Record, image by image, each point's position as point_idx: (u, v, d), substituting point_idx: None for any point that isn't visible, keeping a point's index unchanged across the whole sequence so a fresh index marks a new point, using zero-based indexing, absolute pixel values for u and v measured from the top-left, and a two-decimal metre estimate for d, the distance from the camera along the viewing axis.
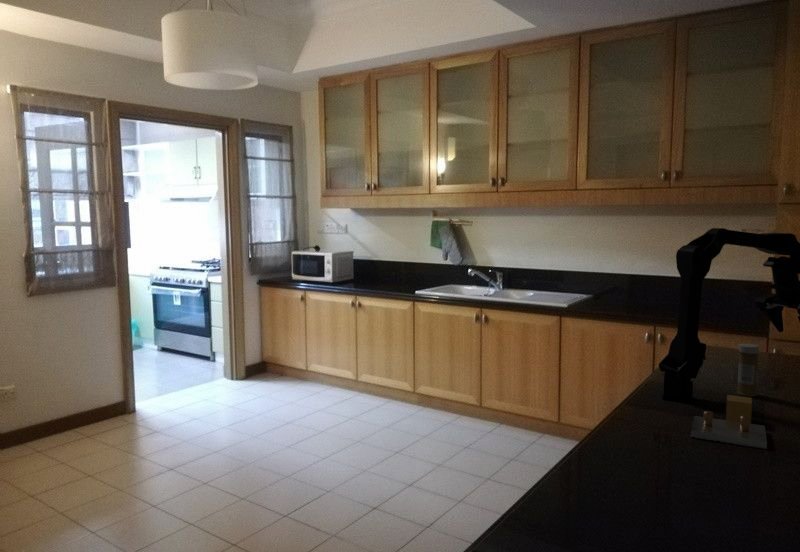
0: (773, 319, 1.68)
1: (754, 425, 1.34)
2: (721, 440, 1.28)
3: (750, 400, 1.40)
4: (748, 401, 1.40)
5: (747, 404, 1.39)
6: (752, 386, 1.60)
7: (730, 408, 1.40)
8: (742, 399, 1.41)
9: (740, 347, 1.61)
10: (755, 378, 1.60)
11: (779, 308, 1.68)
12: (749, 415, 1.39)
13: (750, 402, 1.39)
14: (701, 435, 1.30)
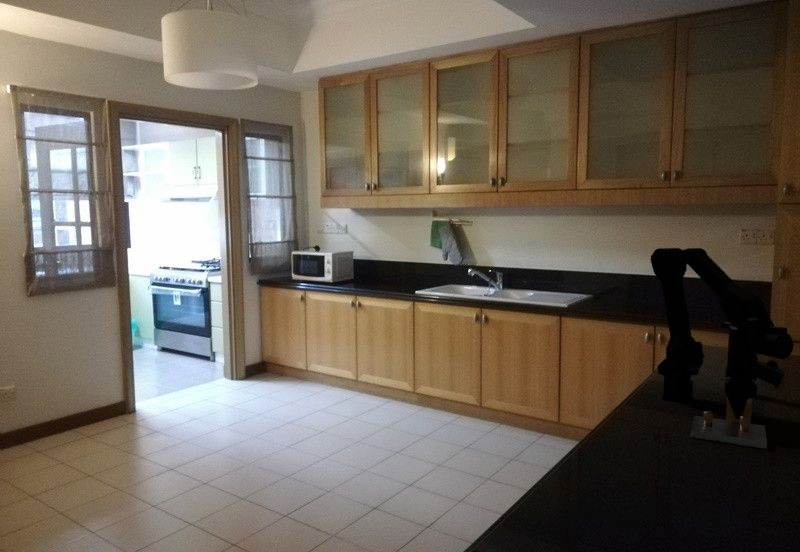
0: None
1: (754, 425, 1.34)
2: (721, 440, 1.28)
3: (750, 400, 1.40)
4: (748, 401, 1.40)
5: (747, 404, 1.39)
6: None
7: (730, 408, 1.40)
8: None
9: None
10: None
11: None
12: (749, 415, 1.39)
13: (750, 402, 1.39)
14: (701, 435, 1.30)
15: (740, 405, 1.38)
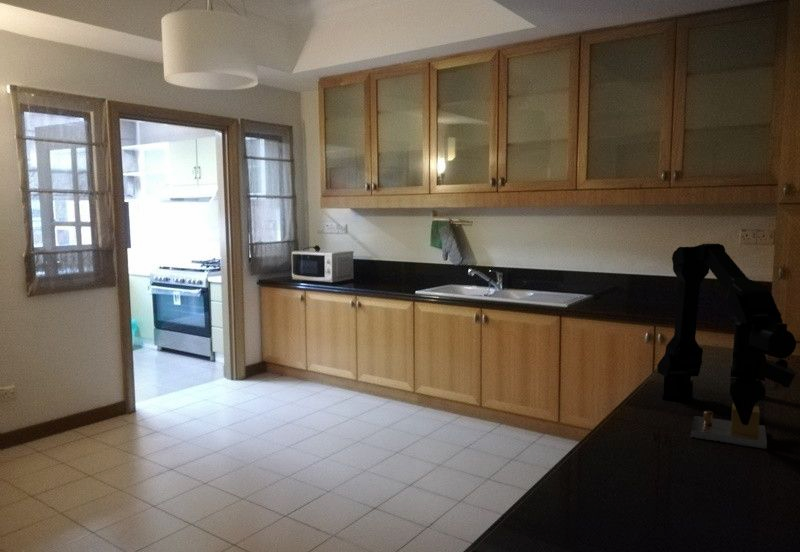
0: None
1: None
2: (721, 440, 1.28)
3: (757, 409, 1.29)
4: (755, 410, 1.29)
5: (754, 413, 1.27)
6: None
7: (736, 418, 1.29)
8: None
9: None
10: None
11: None
12: (756, 425, 1.27)
13: (757, 411, 1.28)
14: (701, 435, 1.30)
15: (747, 409, 1.26)
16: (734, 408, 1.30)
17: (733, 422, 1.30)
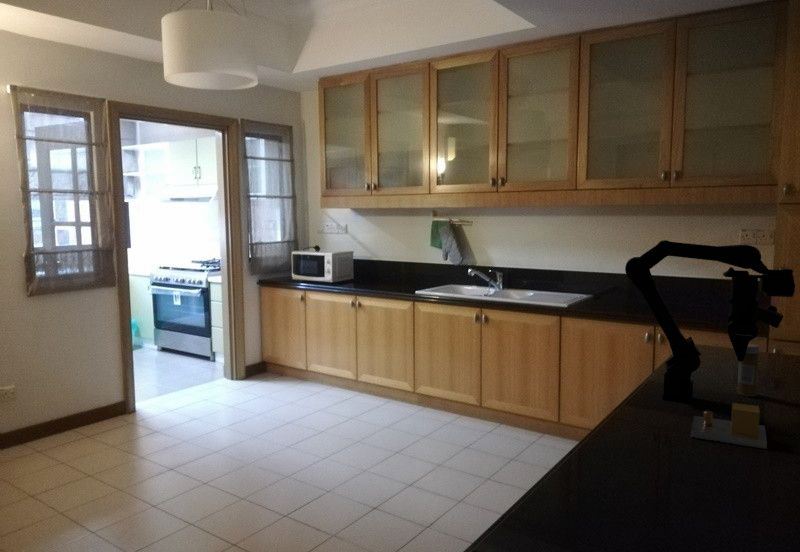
0: None
1: None
2: (721, 440, 1.28)
3: (757, 409, 1.29)
4: (755, 410, 1.29)
5: (754, 413, 1.27)
6: (752, 386, 1.60)
7: (736, 418, 1.29)
8: (748, 408, 1.30)
9: None
10: (755, 378, 1.60)
11: None
12: (756, 425, 1.27)
13: (757, 411, 1.28)
14: (701, 435, 1.30)
15: (742, 347, 1.48)
16: (734, 408, 1.30)
17: (733, 422, 1.30)
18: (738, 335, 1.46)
